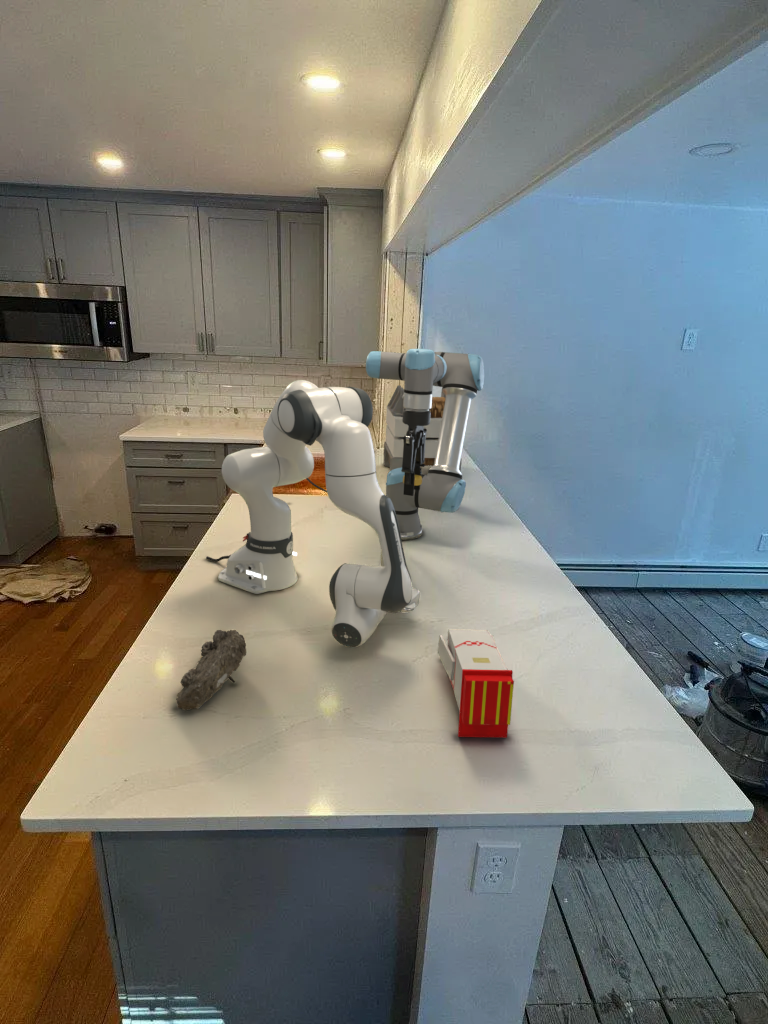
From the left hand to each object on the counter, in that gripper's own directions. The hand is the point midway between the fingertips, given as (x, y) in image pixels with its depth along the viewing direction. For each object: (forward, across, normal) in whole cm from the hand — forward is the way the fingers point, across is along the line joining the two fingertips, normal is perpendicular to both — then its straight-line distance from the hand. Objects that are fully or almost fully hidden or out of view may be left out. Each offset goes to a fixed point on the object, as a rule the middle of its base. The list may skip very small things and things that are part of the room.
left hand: (389, 580), depth 151 cm
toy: (-30, -28, +7) cm, 41 cm away
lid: (+17, 0, -24) cm, 29 cm away
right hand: (+17, 0, -20) cm, 26 cm away
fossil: (-46, +22, +7) cm, 52 cm away
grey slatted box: (+127, +27, +7) cm, 130 cm away
